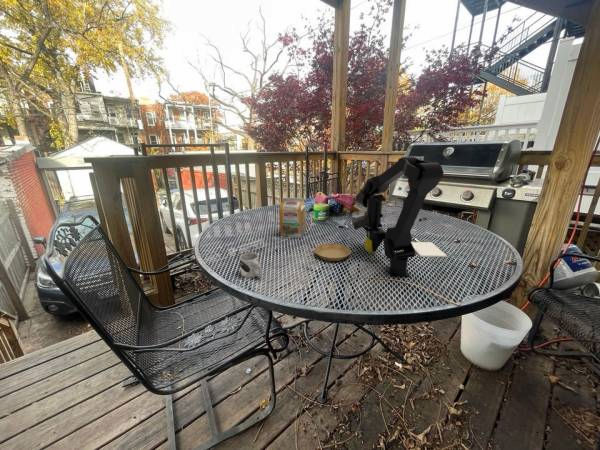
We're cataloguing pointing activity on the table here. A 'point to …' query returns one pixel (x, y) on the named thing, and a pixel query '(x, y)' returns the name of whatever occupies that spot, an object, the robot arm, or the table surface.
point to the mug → (250, 265)
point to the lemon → (368, 245)
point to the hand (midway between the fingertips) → (371, 247)
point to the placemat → (427, 249)
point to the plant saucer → (332, 251)
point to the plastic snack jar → (292, 217)
